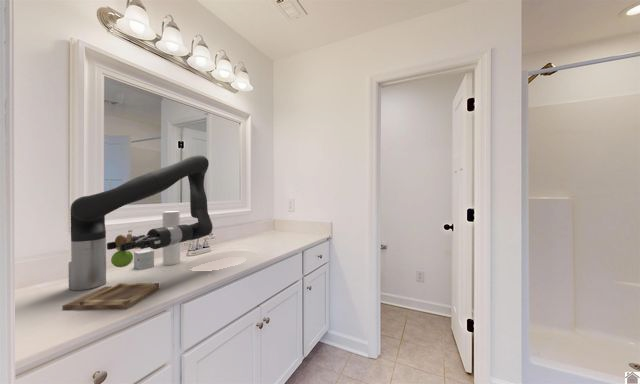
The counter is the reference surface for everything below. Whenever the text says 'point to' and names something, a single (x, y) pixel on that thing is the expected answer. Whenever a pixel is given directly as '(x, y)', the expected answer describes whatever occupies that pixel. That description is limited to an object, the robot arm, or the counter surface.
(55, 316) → the counter surface
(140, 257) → the skincare box
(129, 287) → the display base
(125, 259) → the snail figurine
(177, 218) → the cylindrical container
